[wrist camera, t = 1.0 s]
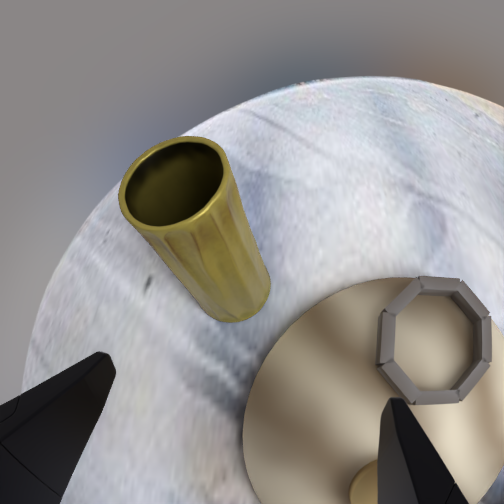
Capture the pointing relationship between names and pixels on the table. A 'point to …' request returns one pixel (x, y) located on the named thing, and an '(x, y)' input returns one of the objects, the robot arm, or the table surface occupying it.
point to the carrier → (376, 391)
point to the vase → (197, 224)
